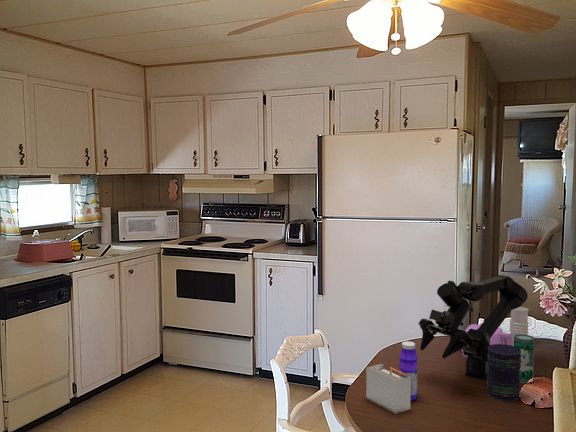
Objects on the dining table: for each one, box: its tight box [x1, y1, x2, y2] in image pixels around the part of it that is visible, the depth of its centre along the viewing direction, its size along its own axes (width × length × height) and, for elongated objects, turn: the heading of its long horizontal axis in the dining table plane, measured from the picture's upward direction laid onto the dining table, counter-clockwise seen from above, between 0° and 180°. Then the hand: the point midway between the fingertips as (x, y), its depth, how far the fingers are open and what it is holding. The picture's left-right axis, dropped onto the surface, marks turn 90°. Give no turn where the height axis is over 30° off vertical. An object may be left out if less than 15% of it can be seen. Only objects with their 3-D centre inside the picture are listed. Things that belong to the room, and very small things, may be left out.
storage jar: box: [486, 343, 521, 402], centre depth 171 cm, size 10×10×15 cm
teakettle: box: [458, 322, 513, 359], centre depth 207 cm, size 17×17×12 cm
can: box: [514, 334, 536, 385], centre depth 182 cm, size 6×6×15 cm
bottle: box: [398, 341, 419, 401], centre depth 170 cm, size 7×6×17 cm
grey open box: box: [365, 363, 411, 415], centre depth 165 cm, size 6×13×10 cm, turn 33°
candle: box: [509, 306, 530, 346], centre depth 218 cm, size 7×7×15 cm
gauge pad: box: [381, 367, 406, 378], centre depth 165 cm, size 2×11×10 cm, turn 32°
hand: (431, 353), depth 175 cm, fingers open, 9 cm apart
